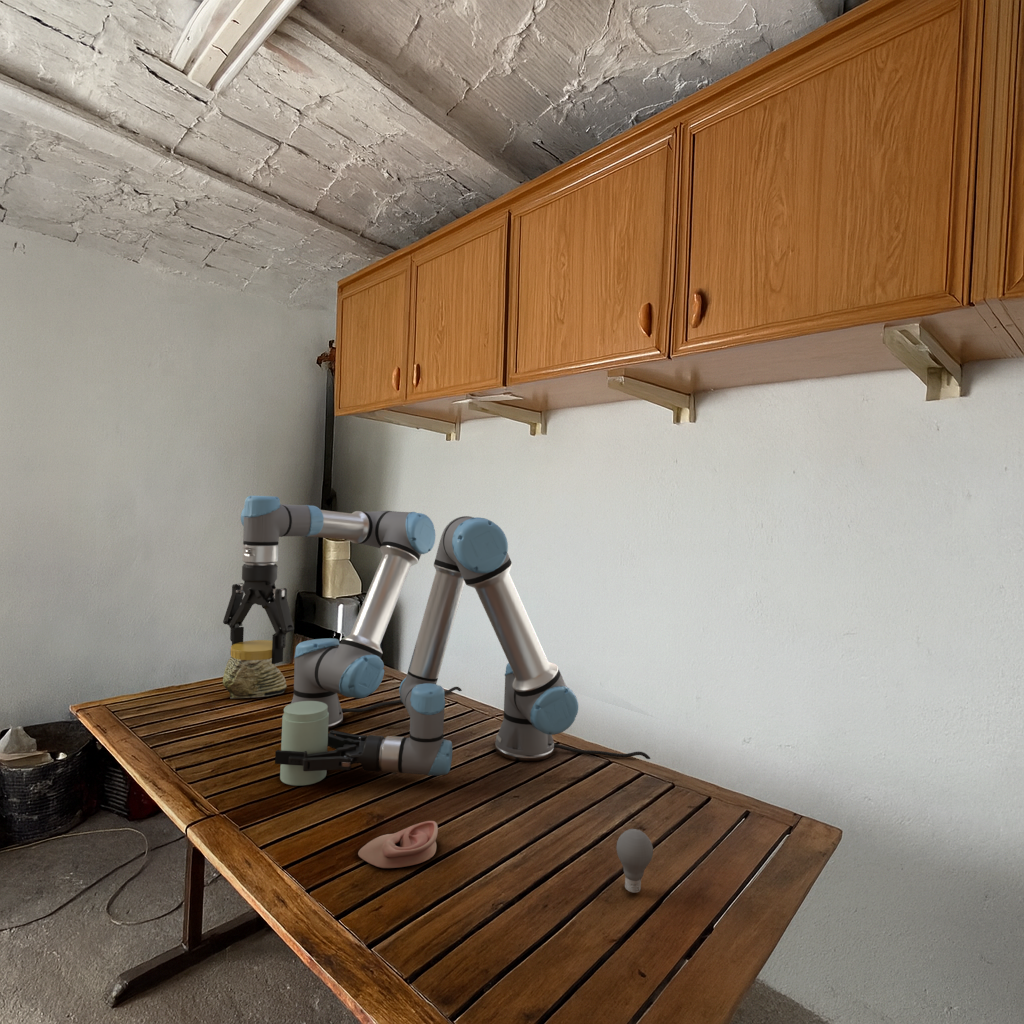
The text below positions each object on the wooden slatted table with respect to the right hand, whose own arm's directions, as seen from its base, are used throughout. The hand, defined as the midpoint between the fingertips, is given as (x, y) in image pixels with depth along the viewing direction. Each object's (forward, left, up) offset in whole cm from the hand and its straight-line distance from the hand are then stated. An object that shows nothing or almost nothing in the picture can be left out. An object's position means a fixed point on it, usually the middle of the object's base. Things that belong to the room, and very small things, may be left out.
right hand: (286, 747), depth 143 cm
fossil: (+7, -61, -6) cm, 62 cm away
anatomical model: (-18, +39, -6) cm, 43 cm away
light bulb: (-52, +62, -6) cm, 81 cm away
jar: (-4, +2, -6) cm, 8 cm away
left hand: (+7, -4, +19) cm, 21 cm away
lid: (+7, -4, +22) cm, 24 cm away
